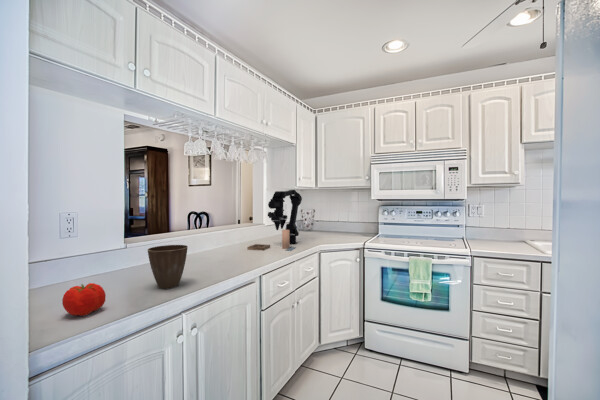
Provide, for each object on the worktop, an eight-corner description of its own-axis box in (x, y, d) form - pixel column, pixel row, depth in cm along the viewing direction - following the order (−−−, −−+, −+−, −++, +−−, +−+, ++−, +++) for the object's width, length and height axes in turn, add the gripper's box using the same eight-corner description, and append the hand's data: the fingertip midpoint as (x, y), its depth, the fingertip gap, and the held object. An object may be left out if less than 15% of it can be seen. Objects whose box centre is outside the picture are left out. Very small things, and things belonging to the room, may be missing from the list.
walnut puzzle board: (255, 247, 203) (255, 244, 203) (270, 248, 199) (270, 244, 199) (247, 250, 191) (247, 246, 191) (263, 251, 188) (263, 247, 188)
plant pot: (139, 289, 110) (138, 249, 110) (170, 279, 124) (170, 243, 124) (166, 294, 104) (165, 252, 104) (195, 283, 118) (195, 245, 118)
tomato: (57, 323, 81) (57, 293, 81) (70, 309, 91) (69, 283, 91) (101, 316, 85) (101, 288, 85) (108, 304, 95) (108, 278, 95)
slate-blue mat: (281, 247, 203) (281, 246, 203) (295, 248, 200) (295, 247, 200) (275, 250, 192) (275, 249, 192) (290, 250, 189) (290, 250, 189)
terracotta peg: (281, 247, 198) (281, 229, 198) (288, 247, 199) (288, 229, 199) (283, 249, 193) (283, 230, 193) (290, 248, 194) (290, 230, 194)
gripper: (274, 207, 215) (274, 227, 215) (264, 208, 197) (264, 230, 197) (287, 207, 211) (287, 228, 212) (278, 208, 194) (278, 231, 194)
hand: (279, 229), depth 203 cm, fingers open, 9 cm apart
